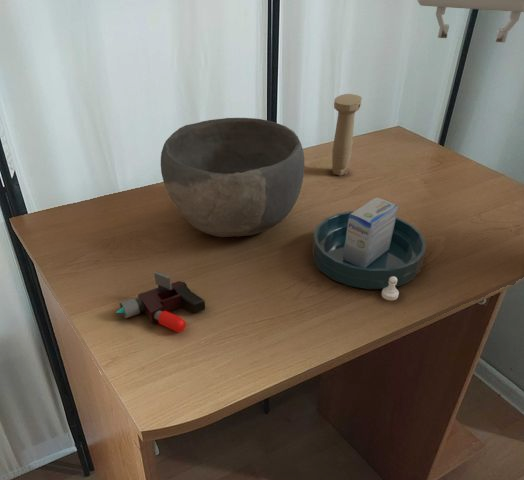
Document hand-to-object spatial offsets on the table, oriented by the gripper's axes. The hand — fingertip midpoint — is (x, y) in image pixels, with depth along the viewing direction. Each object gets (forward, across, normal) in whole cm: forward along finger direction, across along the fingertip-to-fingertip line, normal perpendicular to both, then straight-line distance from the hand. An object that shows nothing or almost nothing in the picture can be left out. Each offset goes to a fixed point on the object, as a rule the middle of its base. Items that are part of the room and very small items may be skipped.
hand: (470, 39), depth 91 cm
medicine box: (+27, -10, -29) cm, 41 cm away
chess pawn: (+28, -5, -38) cm, 48 cm away
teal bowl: (+27, -10, -29) cm, 41 cm away
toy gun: (+27, -37, -53) cm, 70 cm away
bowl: (+27, -35, -24) cm, 50 cm away
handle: (+27, -20, +2) cm, 34 cm away
